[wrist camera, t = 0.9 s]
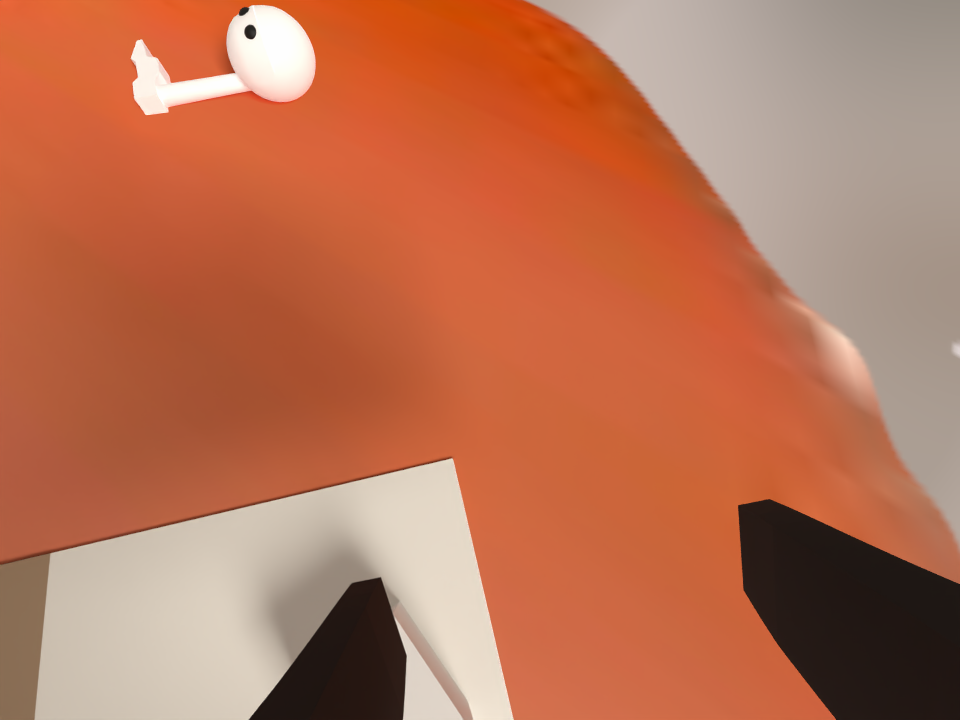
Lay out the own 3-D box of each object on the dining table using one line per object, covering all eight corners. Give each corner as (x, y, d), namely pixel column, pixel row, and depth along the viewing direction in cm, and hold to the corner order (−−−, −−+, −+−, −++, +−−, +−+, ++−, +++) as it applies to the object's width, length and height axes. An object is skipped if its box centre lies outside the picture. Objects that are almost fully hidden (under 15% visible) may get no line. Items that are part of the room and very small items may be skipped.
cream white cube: (301, 687, 19) (261, 729, 14) (399, 600, 20) (392, 612, 16) (369, 804, 17) (350, 892, 13) (468, 701, 19) (482, 746, 14)
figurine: (309, 30, 27) (95, 65, 25) (332, 111, 32) (156, 146, 30) (284, -43, 30) (90, -17, 28) (309, 41, 35) (146, 69, 33)
